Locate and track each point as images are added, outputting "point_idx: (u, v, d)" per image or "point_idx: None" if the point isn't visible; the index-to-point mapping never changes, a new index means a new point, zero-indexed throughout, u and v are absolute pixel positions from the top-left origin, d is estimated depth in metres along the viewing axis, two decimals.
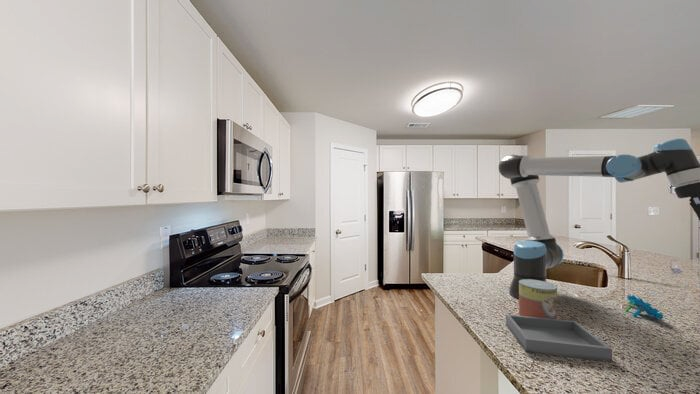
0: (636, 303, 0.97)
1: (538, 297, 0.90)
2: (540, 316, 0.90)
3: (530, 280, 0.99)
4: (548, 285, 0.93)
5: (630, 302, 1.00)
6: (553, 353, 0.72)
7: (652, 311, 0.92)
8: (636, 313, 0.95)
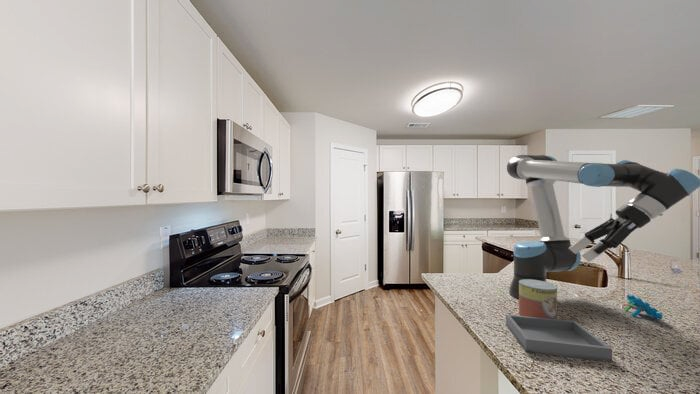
0: (635, 303, 0.97)
1: (538, 297, 0.90)
2: (540, 316, 0.90)
3: (530, 280, 0.99)
4: (548, 285, 0.93)
5: (630, 302, 1.00)
6: (553, 353, 0.72)
7: (651, 311, 0.92)
8: (635, 313, 0.95)
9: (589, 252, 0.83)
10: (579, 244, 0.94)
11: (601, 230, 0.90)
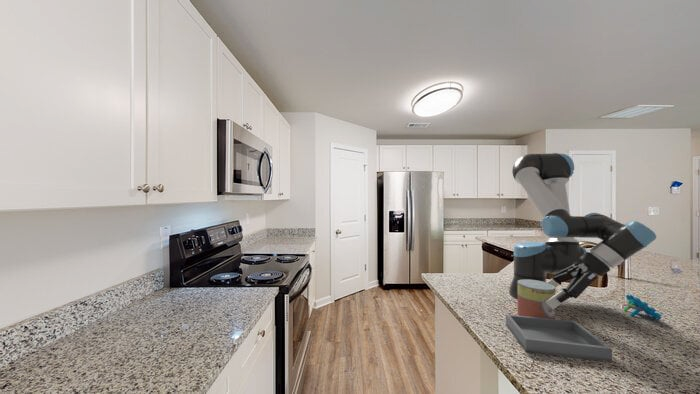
0: (634, 303, 0.97)
1: (538, 297, 0.89)
2: (540, 316, 0.89)
3: (528, 280, 0.99)
4: (546, 285, 0.93)
5: (629, 302, 1.00)
6: (553, 353, 0.72)
7: (650, 311, 0.92)
8: (634, 313, 0.95)
9: (553, 300, 0.85)
10: None
11: (566, 274, 0.93)
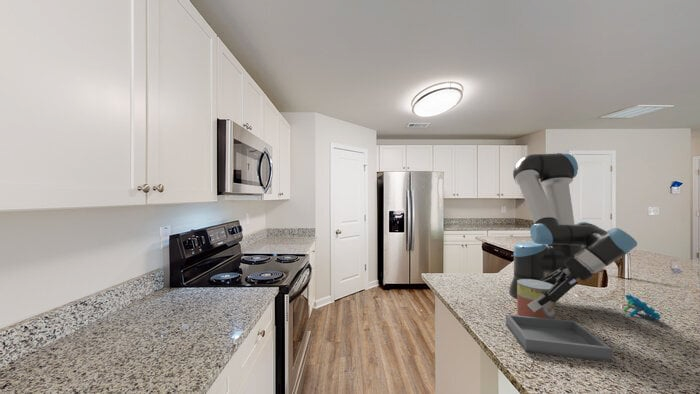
0: (634, 303, 0.97)
1: (537, 297, 0.90)
2: (539, 316, 0.90)
3: (527, 280, 0.99)
4: (546, 285, 0.93)
5: (629, 302, 1.00)
6: (553, 353, 0.72)
7: (649, 311, 0.92)
8: (633, 312, 0.95)
9: (534, 303, 0.90)
10: None
11: (551, 279, 0.95)
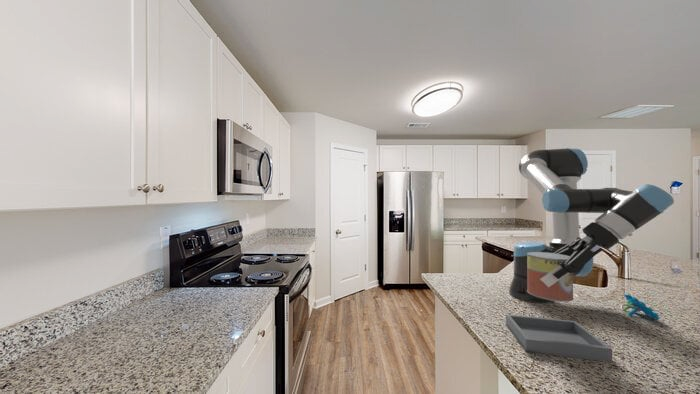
0: (633, 303, 0.97)
1: (552, 269, 0.75)
2: (555, 291, 0.75)
3: (539, 252, 0.85)
4: (562, 256, 0.79)
5: (628, 302, 1.00)
6: (553, 353, 0.72)
7: (647, 310, 0.93)
8: (632, 312, 0.96)
9: (549, 276, 0.75)
10: None
11: (568, 250, 0.81)
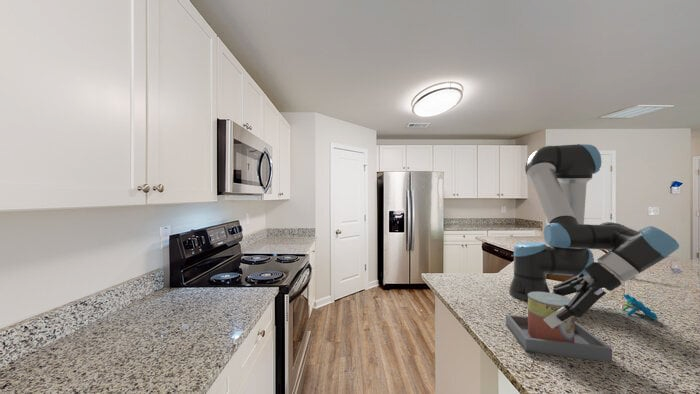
0: (632, 302, 0.97)
1: None
2: (556, 338, 0.74)
3: (540, 293, 0.83)
4: (563, 299, 0.78)
5: (628, 302, 1.00)
6: (553, 353, 0.72)
7: (646, 310, 0.93)
8: (630, 312, 0.96)
9: (553, 318, 0.73)
10: None
11: (569, 287, 0.80)
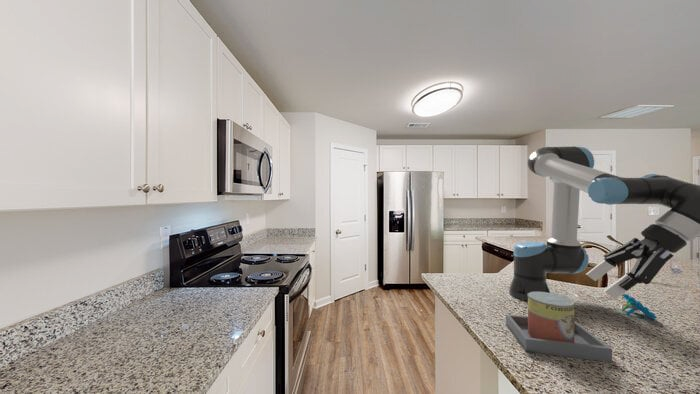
0: (631, 302, 0.98)
1: (553, 315, 0.74)
2: (556, 338, 0.74)
3: (540, 293, 0.83)
4: (563, 299, 0.78)
5: (628, 301, 1.01)
6: (553, 353, 0.72)
7: (644, 310, 0.93)
8: (629, 312, 0.96)
9: (615, 287, 0.68)
10: (598, 269, 0.80)
11: (624, 254, 0.75)
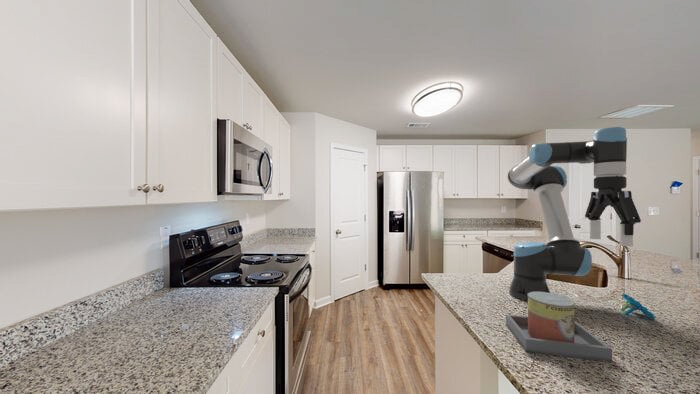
0: (630, 302, 0.98)
1: (553, 315, 0.74)
2: (556, 338, 0.74)
3: (540, 293, 0.83)
4: (563, 299, 0.78)
5: (627, 301, 1.01)
6: (553, 353, 0.72)
7: (643, 310, 0.93)
8: (628, 311, 0.96)
9: (624, 238, 0.78)
10: (594, 229, 0.91)
11: (598, 207, 0.88)
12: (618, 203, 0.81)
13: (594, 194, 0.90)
